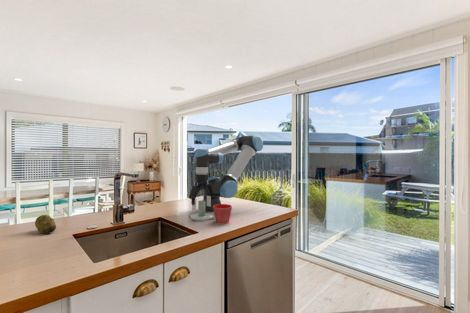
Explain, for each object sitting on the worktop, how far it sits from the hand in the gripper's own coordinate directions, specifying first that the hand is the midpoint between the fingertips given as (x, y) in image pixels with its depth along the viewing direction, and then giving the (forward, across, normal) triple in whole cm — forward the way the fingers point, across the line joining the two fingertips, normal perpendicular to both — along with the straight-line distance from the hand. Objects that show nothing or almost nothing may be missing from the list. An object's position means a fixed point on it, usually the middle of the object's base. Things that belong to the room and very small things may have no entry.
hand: (201, 208), depth 155 cm
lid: (+6, 0, 0) cm, 6 cm away
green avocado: (+7, +65, -48) cm, 81 cm away
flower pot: (+7, 0, +16) cm, 17 cm away
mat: (+6, 0, 0) cm, 6 cm away
